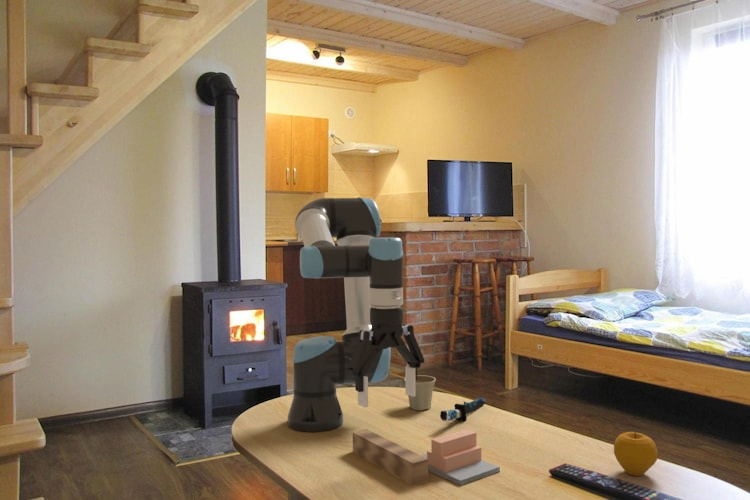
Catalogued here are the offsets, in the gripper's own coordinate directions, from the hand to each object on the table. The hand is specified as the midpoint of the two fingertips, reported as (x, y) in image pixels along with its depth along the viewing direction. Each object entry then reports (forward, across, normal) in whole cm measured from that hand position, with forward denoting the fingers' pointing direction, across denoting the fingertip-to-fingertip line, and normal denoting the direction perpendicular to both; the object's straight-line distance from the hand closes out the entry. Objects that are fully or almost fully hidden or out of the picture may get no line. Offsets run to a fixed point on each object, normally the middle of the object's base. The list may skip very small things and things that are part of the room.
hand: (387, 400), depth 142 cm
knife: (+15, +39, +14) cm, 44 cm away
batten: (+15, 0, 0) cm, 15 cm away
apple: (+15, +39, -37) cm, 56 cm away
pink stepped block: (+15, +11, -10) cm, 21 cm away
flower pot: (+15, +35, +29) cm, 48 cm away
